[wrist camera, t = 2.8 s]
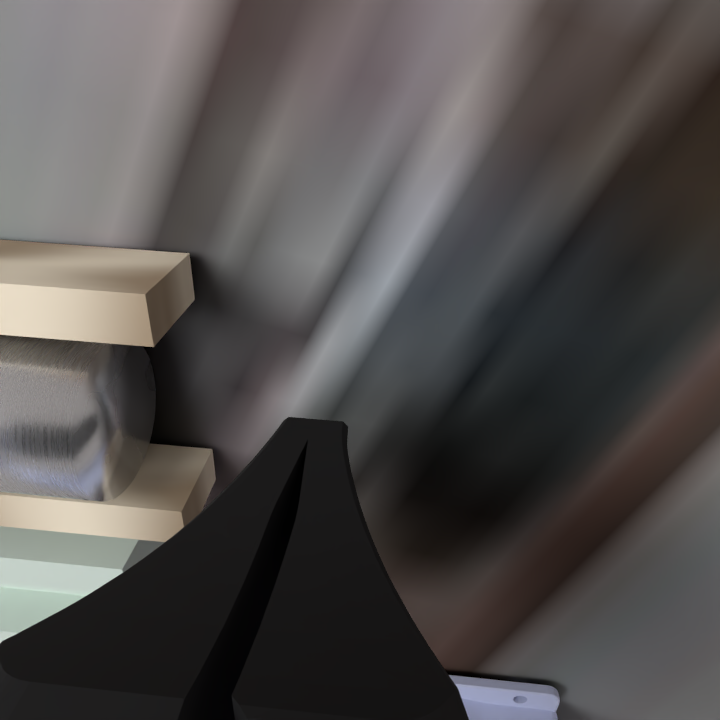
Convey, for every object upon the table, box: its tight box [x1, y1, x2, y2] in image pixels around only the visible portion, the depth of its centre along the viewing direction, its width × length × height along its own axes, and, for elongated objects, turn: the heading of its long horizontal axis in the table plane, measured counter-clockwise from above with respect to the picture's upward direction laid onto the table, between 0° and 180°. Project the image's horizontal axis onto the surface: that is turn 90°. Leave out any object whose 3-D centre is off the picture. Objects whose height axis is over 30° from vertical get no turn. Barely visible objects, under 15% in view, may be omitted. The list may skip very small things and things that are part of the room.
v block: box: [0, 526, 164, 643], centre depth 18 cm, size 8×5×2 cm, turn 88°
